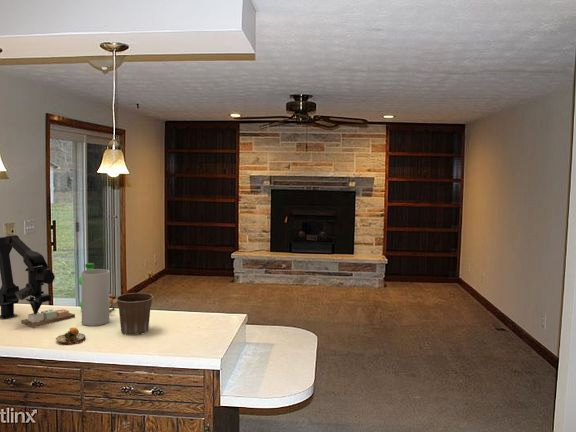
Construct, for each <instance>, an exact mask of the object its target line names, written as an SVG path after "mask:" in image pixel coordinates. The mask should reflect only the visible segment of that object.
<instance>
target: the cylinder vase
mask: <svg viewBox="0 0 576 432" xmlns="http://www.w3.org/2000/svg"><path fill="white" fill-rule="evenodd" d="M80 276H81V285H80V286H81V300H82V309H81V323H82V325H84V326H88V327H96V326H97V327H98V326H103V325H106V324H108V323H109V322H110V306H109V298H110V270H109V269H103V268H93V269H91V270H87V269H86V270H82V271H81V274H80Z"/></svg>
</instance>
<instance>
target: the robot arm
mask: <svg viewBox="0 0 576 432" xmlns="http://www.w3.org/2000/svg"><path fill="white" fill-rule="evenodd" d="M12 249H14V250H15V252H17V253H18V254H19V255H20V256H21V257H22V259H23V261H22V262H23V263H24V265H25V266H26V268H25V270H24V271H25V272H27V281H28V282H27V283H25V287H23V288H20V286H19V285H16V284H15V283H14V277H13V271H12V270H13V269H12V264H11V262H12V261H11V257H10V253H11V252H12ZM55 278H56V276H55V273H54V272H53V271H52V270H51V268H49V265H48V263H47V261H46V260H45V257H44V256H43V254H41V253H40V252H38V251H34V250H32V249H31V248H30V247H29V246H28V245H27V244H26V243H25V242H24V241H23V240H22V239H20V236H18V235H16V234H13V235H11V234H10V235H6V236H0V279H1V280H0V281H1V287H0V318H1V319H10V318H14V317H18V314H17V313H16V314H15V304H19V301H23V300H26V301H27V302H28V303H29V304H30V306H31V309H32V311H33V312H32V313H34V314H37V312H39V311H40V308H41V306H42V305H43V303H47V302H51V301H53V297H52V295H51V294H49V293H45V292H44V291H43V286H44V285H45V284H47V285H50V284H52V283H53V282H54V281H55Z"/></svg>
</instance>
